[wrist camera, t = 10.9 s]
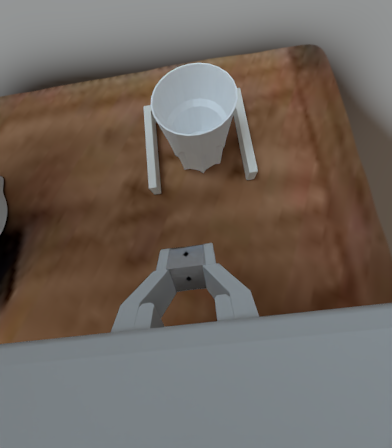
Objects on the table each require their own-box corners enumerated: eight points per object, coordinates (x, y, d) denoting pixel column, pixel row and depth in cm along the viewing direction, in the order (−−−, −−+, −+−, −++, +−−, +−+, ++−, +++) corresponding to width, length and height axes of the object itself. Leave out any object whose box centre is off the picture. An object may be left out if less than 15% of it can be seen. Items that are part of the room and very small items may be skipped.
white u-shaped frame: (253, 179, 27) (258, 171, 25) (154, 194, 28) (148, 188, 26) (237, 101, 30) (239, 87, 28) (148, 118, 32) (143, 106, 29)
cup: (180, 122, 31) (164, 59, 21) (235, 130, 29) (245, 67, 20) (164, 171, 29) (139, 128, 19) (221, 183, 28) (226, 142, 18)
